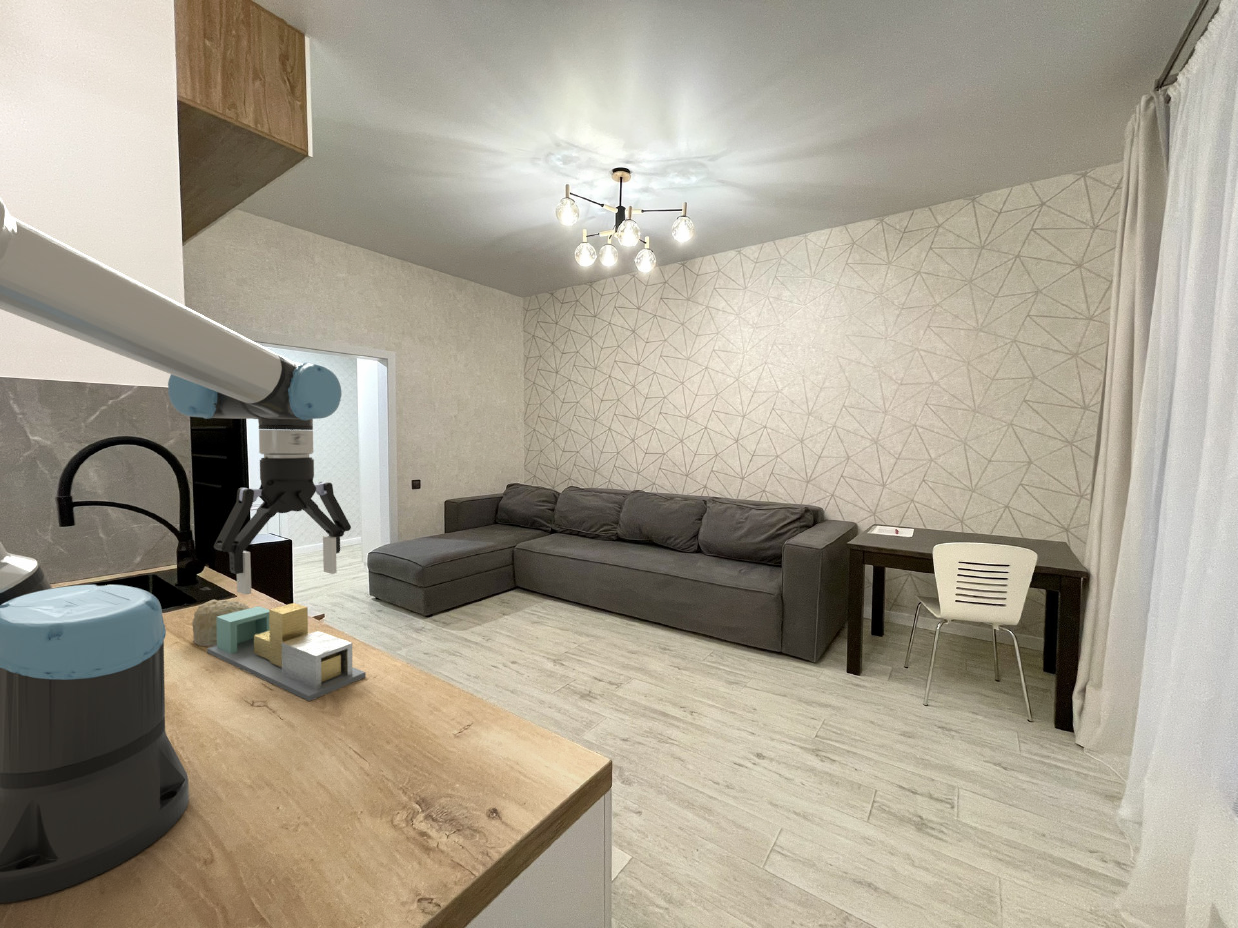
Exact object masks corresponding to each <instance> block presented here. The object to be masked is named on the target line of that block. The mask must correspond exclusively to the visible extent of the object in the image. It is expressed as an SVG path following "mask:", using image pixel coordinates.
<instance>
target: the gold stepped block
mask: <svg viewBox="0 0 1238 928" xmlns="http://www.w3.org/2000/svg"><path fill="white" fill-rule="evenodd" d="M268 610H269V631H267V632H264V633H260V634H257V635H254V654H257V655H259V656H261V657H263V658H266V659H268V660H270V663H273V664H275V665H277V666H279V667H282V642H285V641H288V640H291V639H294V638H297V637H301V636H304V635H307V634H309V630H308V628H309V627H308V626H309V625H308V622H309V620H308V619H309V616H308V614H309V613H308V611H309V610H308V606H305V605H303V604H300V603H294V602H293V603H288V604H285V605H281V606H277V607H273V608H270V609H268ZM338 675H341V655H340V654H337V653H333V654H331V655H328V656H325V657H323V658H321V682H323V681H326V680H328V679H331V678H333V677H336V676H338Z"/></svg>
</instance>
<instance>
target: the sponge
mask: <svg viewBox="0 0 1238 928" xmlns="http://www.w3.org/2000/svg"><path fill="white" fill-rule="evenodd" d="M249 608H250V607H249V606H248V605H247V604H246V603H243V602H239V601H238V600H237V601H235V600H224V599H222V600H217V599H211V600H209V601H206V602H204V603H202V604H199V605H198V606H197V608H196V610H195V612H194V614H193V615H194V616H193V618H192V632H193V637H192V638H193V643H194V644H196V645H198V646H200V647H201V646H202V647H213V646H216V645H217V620H216V617H217V616H221V615H225V614H229V613H233V612H237V611H241V610H245V609H249Z"/></svg>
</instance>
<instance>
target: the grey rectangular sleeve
mask: <svg viewBox="0 0 1238 928" xmlns="http://www.w3.org/2000/svg"><path fill="white" fill-rule="evenodd" d="M333 653H337V654H340V655H341V674H343V675H345V676H350V675H352V667H353V642H351V641H348V640H345V639H342V638H339V637H336V636H334V635H331V634H329V633H325V632H322V631H319V630H317V631H314V632H311V633H308V634H307V635H304V636H301V637H297V638H294V639H291V640H288V641H285V642H282V674H283V675H285V676H287V677H289V678H291V679H294V680H296V681H298V682H300V683H302V684H305V685H307V686H309V687H311V688H313V689H319V688H321V658H323V657H325V656H328V655H331V654H333Z"/></svg>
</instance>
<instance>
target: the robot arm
mask: <svg viewBox="0 0 1238 928" xmlns="http://www.w3.org/2000/svg"><path fill="white" fill-rule="evenodd" d="M0 310H2V311H4V312H8V313H10V314H12V315H15V316H18V317H20V318H23V319H25V320H29V321H31V322H33V323H36V324H38V325H40V326H44V327H47V328H49V329H51V330H54V331H57V332H60V333H62V334H64V335H67V336H70V337H73V338H75V339H77V340H80V341H83V342H86V343H88V344H90V345H93V346H96V347H98V348H101V349H104V350H107V351H109V352H112V353H115V354H116V355H119V356H122V357H125V358H128V359H130V360H132V361H136V362H137V363H138V362H139V363H140V364H143V365H146V366H148V367H151V368H154V369H157V370H159V371H162V372H164V373H166V374H170V376H169V378H168V382H167V386H168V387H167V388H168V392H167V393H168V399H169V401H170V403H171V405H172V406H173V408H174V409H175V410H176V411H177V412H178V413H180V414H182V415H183V416H187V417H193V418H203V419H205V420H207V419H232V420H233V419H239V420H243V419H247V420H249V419H250V420H251V419H253V420H257V421H258V441H259V442H258V445H259V446H258V448H259V449H258V450H259V451H258V453H259V454H260V455H263V457H261V458H260V459H259V480H260V486H259V488H247V487H240V488H238V489H237V493H236V500H235V501H236V502H235V504H234V506H233V508H232V509H231V512H230V514H229V515H228V517H227V519H226V521H225V523H224V525H223V527H222V529H221V530H220V533H219V535H218V536H217V538H216V541H215V542H214V544H213V548H214V549H215V550H217V551H221V552H224V553H228V554H229V571H230V572H231V574H235V575H236V592H237V593H240V594H243V595H246V596H247V595H251V594H252V567H251V552H250V551H247V550H246V549H247V548H248V547H249V545H250V544H251V543H252V542H253V540H254V539H255V538H256V536H258V534H259V533H260V532H261V530H262V529H264V527H265V526H266V524H267V523H268V522H269V521H270V519H271V518H273V517H275V515H277V513H278V514H287V513H290V512H302V511H304V512H305V513H306V514H307V515H308V516H309V517H310V518H311V519H312V520H314V522H315V523H316V524H317V525H318V526H319V527H321V529H322V530H323V531H325V532H326V534H328V535H323V536H322V551H323V552H322V554H323V555H322V557H323V559H322V561H323V563H322V564H323V573H327V574H331V575H333V574H337V554H340V552H341V537H343V536H344V535H345V532H349V531H351V529H352V526H351V523H350V522H349V520H348V518H347V517H346V515H345V513H344V511H343V509H342V507H341V505H340V504H339V502H338V500H337V497H336V496H335V494H334V488H333V487H334V486H333V483H332V482H329V481H328V482H327V481H319V482H318V483H314V478H315V460H314V458H313V457H311V456H310V455H312V454H313V453H314V431H313V430H314V426H313V425H314V423H313V422H314V419H315V420H318V419H324V418H328V417H330V416H332V415H333V414H334V413H335V412H336V411H337V410H338V409H339V406H340V403H341V398H342V396H343V395H342V386H341V384H340V381H339V378H338V377H337V375H336V374H335V373H334V372H333V371H332V369H330V368H329V367H327V366H325V365H322V364H319V363H318V364H316V363H314V364H313V363H310V362H303V363H302V362H297V361H292V360H290V359H289V358H286V357H284V356H283V355H280V354H278V353H276V352H274V351H272V350H270V349H268V348H266V347H265V346H263V345H260V344H259V343H256V342H255V341H253V340H251V339H249V338H247V337H245V336H244V335H241V334H239V333H238V332H236V331H234V330H232V329H229V328H227V327H226V326H223V325H222V324H221V323H219V322H216V321H214V320H212V319H210V318H208V317H206V316H204V315H203V314H201V313H199V312H197V311H195V310H193V309H191V308H189V307H187V306H185V305H183V304H182V303H179V302H178V301H175V300H174V299H172V298H170V297H168V296H166V295H164V294H162V293H160V292H158V291H156V290H154V289H153V288H150V287H149V286H146V285H144V284H142V283H140V282H139V281H137V280H136V279H133V278H131V277H129V276H127V275H125V274H124V273H121V272H120V271H117V270H116V269H114V268H111V267H110V266H108V265H106V264H104V263H102V262H100V261H98V260H96V259H94V258H93V257H91V256H88V255H86V254H84V253H82V251H81V252H80V251H79V250H77V249H75V248H72V247H71V246H70V245H67V244H65V243H64V242H61V241H59V240H58V239H56V238H53V237H52V236H50V235H48V234H46V233H44V232H42V231H40V230H38V229H36V228H34V227H32V226H31V225H28V224H27V223H25V222H22V221H21V220H20V219H17V218H15V217H13V216H12V215H11V214H10V213H9V211H8V208H7V207H6V204H5V203H4V201H3V199H2V198H1V197H0ZM315 493H316V495H318V496H319V497H320V500H321V502H322V504H323V505H324V508H325V509H326V511H327V513H328V515H329V516H330V518H329V517H328V516H327V515H326V513H324V512H323V510H322V509H320V507H319V504H317V503H316V502H315V501H314V500H313V499H312V498H313V496H314V495H315ZM258 498H260V499H261V500H262V503H261V504H260V505H259V507H257V509H256V512H255V513H254V515H253V516H252V517H251V518H250V520H249V521H248V522H247V523H246V524H245V526H243V525H244V523H245V521H246V519H247V517H248V515H249V512H250V510H251V509H252V507H253V503H255V502H256V501H257V500H258ZM242 527H243V528H242ZM241 528H242V529H241ZM163 617H164V616H163V611H162V606H161V603H160V601H159V599H158V597H156V596H155V595H154V594H152V593H151V592H149V591H147V590H144V589H142V588H139V587H133V586H131V585H130V586H128V585H124V584H107V585H106V584H105V585H97V584H80V585H79V584H77V585H71V586H70V585H69V586H61V587H55V588H53V587H52V585H51V584H50V582H49V580H48V578H47V576H46V574H45V573H44V571H43V569H42V567H41V566H40V564H39V562H38V560H36V559H35V558H33V557H29V556H24V555H20V554H19V555H18V554H15V553H9V552H8V551H7V549H5V547H4V545H3V543H2V542H1V541H0V904H2V903H4V904H5V903H12V902H19V901H23V900H29V899H33V898H37V897H41V896H44V895H48V894H51V893H55V892H57V891H61V890H64V889H67V888H69V887H72V886H75V885H77V884H80V883H82V882H85V881H87V880H90V879H92V878H94V877H96V876H99V875H100V874H102V873H105V872H107V871H109V870H112V869H114V868H115V867H117V866H119V865H120V864H122V863H124V862H126V861H127V860H129V859H131V858H132V857H134V856H136V855H137V854H139V853H141V852H142V851H144V850H145V849H146V848H148V847H149V846H151V845H152V844H154V843H155V842H156V841H158V839H161V837H162V836H163V835H164V834H166V833H167V832H168V831H169V830H170V829H172V827H173V826H174V825H175V824H176V823H177V822H178V821H179V819H181V816H182V815H184V813H185V811H186V808H187V807H188V805H189V799H190V795H189V793H190V792H189V788H190V787H189V776H188V773H187V771H186V769H185V767H184V765H183V764H182V762H181V760H180V758H179V756H178V754H177V752H176V750H175V749H174V747H173V745H172V742H171V741H170V739H169V736H168V734H167V732H166V709H165V708H166V705H165V703H166V701H165V700H166V699H165V698H166V694H165V689H166V688H165V687H166V686H165V643H164V642H165V638H166V635H167V633H166V631H167V630H166V625H165V621H164V618H163Z"/></svg>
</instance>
